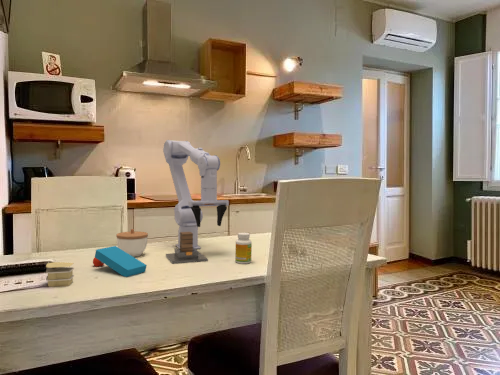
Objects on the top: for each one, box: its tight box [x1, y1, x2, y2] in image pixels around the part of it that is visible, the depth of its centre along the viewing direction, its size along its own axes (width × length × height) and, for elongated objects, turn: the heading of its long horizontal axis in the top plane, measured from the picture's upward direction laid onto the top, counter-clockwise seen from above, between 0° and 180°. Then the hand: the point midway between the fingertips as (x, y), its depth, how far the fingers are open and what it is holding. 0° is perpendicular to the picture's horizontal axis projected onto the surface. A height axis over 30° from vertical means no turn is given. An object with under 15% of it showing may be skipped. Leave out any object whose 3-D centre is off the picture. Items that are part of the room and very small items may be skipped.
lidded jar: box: [116, 228, 149, 258], centre depth 143 cm, size 11×11×9 cm
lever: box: [92, 245, 147, 278], centre depth 123 cm, size 7×7×19 cm
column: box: [180, 232, 193, 252], centre depth 139 cm, size 4×4×7 cm
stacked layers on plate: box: [45, 261, 75, 288], centre depth 108 cm, size 10×9×6 cm
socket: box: [165, 247, 209, 265], centre depth 139 cm, size 12×12×3 cm
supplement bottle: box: [234, 232, 253, 265], centre depth 135 cm, size 5×5×10 cm
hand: (208, 226), depth 146 cm, fingers open, 7 cm apart
